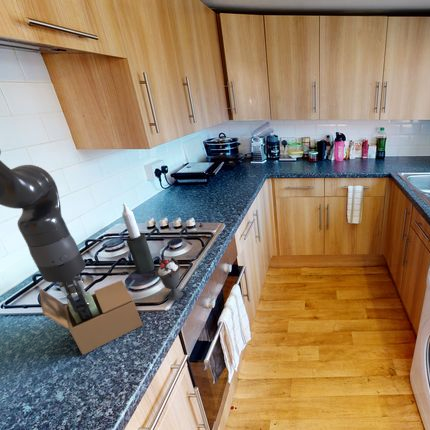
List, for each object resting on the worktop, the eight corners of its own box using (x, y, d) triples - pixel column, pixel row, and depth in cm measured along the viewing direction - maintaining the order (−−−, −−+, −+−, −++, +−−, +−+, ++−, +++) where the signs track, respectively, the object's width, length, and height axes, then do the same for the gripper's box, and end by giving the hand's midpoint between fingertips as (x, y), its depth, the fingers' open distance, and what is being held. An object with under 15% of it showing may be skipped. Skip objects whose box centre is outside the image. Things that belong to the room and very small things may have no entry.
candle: (154, 270, 99) (133, 204, 88) (137, 275, 97) (113, 208, 86) (154, 263, 103) (133, 199, 92) (138, 267, 101) (115, 202, 90)
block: (76, 323, 68) (69, 309, 66) (74, 314, 71) (66, 300, 69) (99, 313, 71) (92, 299, 69) (95, 304, 74) (89, 291, 72)
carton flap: (68, 327, 65) (66, 328, 64) (63, 303, 72) (61, 304, 71) (44, 312, 61) (42, 313, 60) (41, 288, 68) (39, 289, 67)
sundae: (166, 307, 83) (152, 265, 76) (161, 295, 88) (148, 253, 81) (190, 298, 86) (178, 256, 80) (184, 286, 91) (173, 246, 85)
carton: (83, 356, 68) (67, 327, 64) (76, 330, 76) (62, 303, 72) (143, 325, 77) (132, 299, 73) (131, 305, 84) (121, 279, 80)
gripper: (33, 250, 66) (63, 306, 73) (37, 277, 57) (70, 338, 64) (74, 238, 71) (98, 292, 78) (83, 261, 61) (110, 320, 69)
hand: (85, 313), depth 71 cm, fingers closed on block, 4 cm apart
